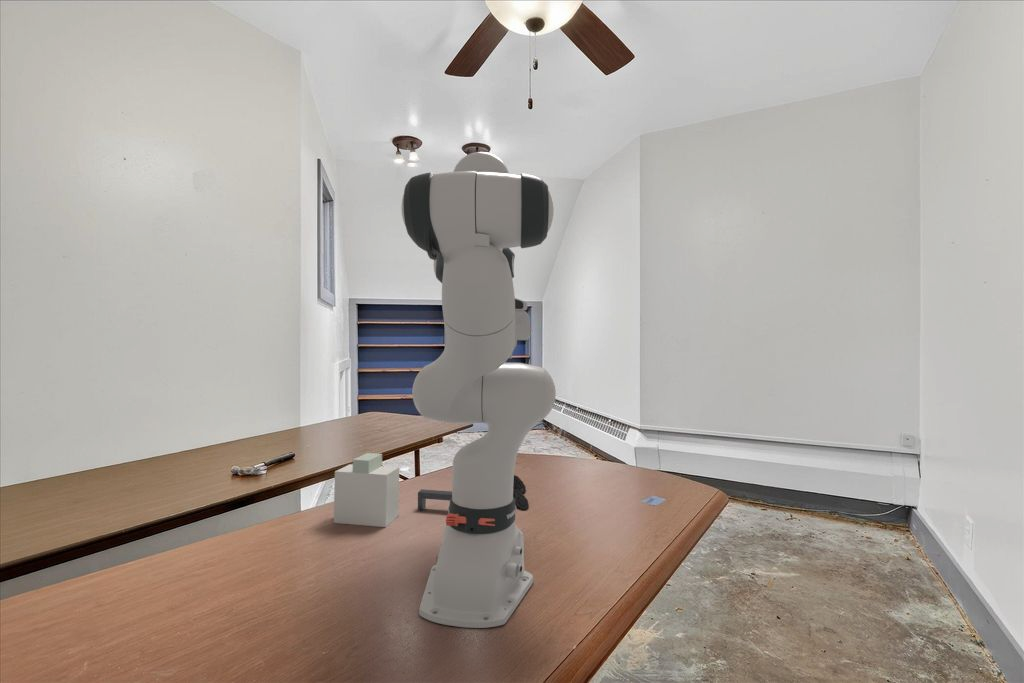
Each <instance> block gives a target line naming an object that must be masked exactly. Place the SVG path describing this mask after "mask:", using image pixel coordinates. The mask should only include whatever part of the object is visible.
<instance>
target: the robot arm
mask: <svg viewBox="0 0 1024 683" xmlns="http://www.w3.org/2000/svg"><path fill="white" fill-rule="evenodd" d="M400 208H401V218H402V221H403V224H404V227H405V229H406V232H407V235H408V236H409V238H410V239H411V240H412V241H413V243H415V245H416V246H417V247H418V248H420V249H421V250H423V251H425V252H426V253H427V255H428V257H429V259H430V260H433V272H434V275H435V278H436V280H438V281H439V282H440V283H441V305H442V306H441V307H442V316H443V324H444V325H443V326H444V340H445V344H444V345H445V346H444V350H443V351H442V353H440V356H439V357H438V358H436V359H435V360H434V361H433V362H431V363H428V364H426V365H424V366H423V367H422V368H421V369H420V370H419V372H418V373H417V375H416V376H415V378H414V381H413V384H412V391H411V392H412V394H411V395H412V401H413V403H414V406H415V408H416V410H417V412H418V413H419V414H420V415H421V417H423V418H426V419H430V420H433V421H439V422H444V423H453V424H454V423H455V424H457V423H458V424H459V423H460V424H461V423H466V424H468V423H469V424H471V423H472V424H485V425H487V426H488V430H487V432H486V433H485V434H484V435H483V436H482V437H479V438H478V439H475V440H474V441H471V442H468V443H467V444H466V445H464V446H463V447H461V448H459V449H458V451H457V452H456V453H455V455H454V457H453V459H452V477H451V478H452V480H451V481H452V482H451V483H452V485H451V491H452V498H451V499H450V501H449V505H448V510H447V514H446V517H445V524H446V525H444V526H443V530H444V531H443V536H442V540H441V544H440V549H439V552H438V554H437V556H436V564H434V565H432V567H431V569H430V572H429V575H428V577H427V578H428V579H427V582H426V585H425V587H424V592H423V595H422V597H421V601H420V604H419V608H418V615H419V616H420V617H422V619H423V618H424V619H425V620H427V621H429V622H433V623H436V624H440V625H445V626H452V627H458V628H459V627H460V628H469V629H470V628H471V629H472V628H473V629H474V628H475V629H485V628H495V627H499V626H503V625H505V624H506V623H507V622H508V621H509V620H510V618H511V616H512V614H513V613H514V611H515V610H516V609H517V607H518V606H519V604H520V603H521V601H522V599H523V598H524V597H525V595H526V594H527V593H528V592H529V590H530V588H531V587H532V585H533V583H534V575H533V574H532V573H530V572H529V571H527V570H525V555H524V552H525V550H524V546H525V545H524V533H523V532H522V531H521V529H520V528H519V527H518V526H517V525H516V523H515V520H516V513H517V506H516V504H515V496H514V495H513V482H514V475H515V474H514V473H515V470H516V469H515V468H516V467H515V466H516V460H517V456H518V453H519V452H518V451H519V450H520V447H521V445H522V444H523V441H524V439H525V438H526V436H527V435H528V434H529V432H530V431H532V429H533V428H534V427H536V425H538V424H539V423H540V422H542V421H543V420H544V419H546V417H548V415H550V413H551V412H552V409H553V407H554V405H555V401H556V386H555V382H554V380H553V378H552V376H551V374H550V373H549V371H547V370H546V369H545V368H544V367H541V366H537V365H533V364H528V363H525V362H524V363H523V362H507V361H508V359H513V352H514V350H515V348H516V347H517V346H518V345H517V344H518V341H529V339H530V338H531V335H532V330H531V319H530V315H529V314H528V312H527V311H526V310H528V303H527V301H526V300H525V301H524V300H522V299H519V298H517V297H515V287H514V281H513V279H514V278H515V271H514V270H515V268H514V267H515V266H514V265H515V257H516V255H515V253H514V252H513V250H511V249H512V248H517V247H520V248H521V249H527V248H532V247H536V246H539V245H541V244H543V242H544V241H545V240H546V239H547V237H548V233H549V231H550V229H551V227H552V223H553V220H554V209H555V208H554V202H553V197H552V195H551V193H550V191H549V186H548V184H547V183H546V182H545V181H544V180H543V179H542V178H541V177H538V176H536V175H531V174H527V173H521V174H518V175H517V174H511V173H510V172H509V170H508V168H507V165H505V163H504V161H503V160H502V159H501V158H499V157H498V156H496V155H495V154H493V153H491V152H486V151H475V152H472V153H468V154H467V155H465V156H463V157H462V158H461V159H460V160H459V161H458V163H456V165H455V167H454V169H453V171H451V172H450V171H449V172H448V171H447V172H441V173H434V172H425V173H421V174H418V175H415V176H412V177H411V178H410V179H409V180H408V181H407V183H406V185H405V186H404V191H403V196H402V199H401V205H400Z"/></svg>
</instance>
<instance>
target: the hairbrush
mask: <svg viewBox="0 0 1024 683" xmlns="http://www.w3.org/2000/svg"><path fill="white" fill-rule="evenodd" d="M515 474H516V475H515ZM526 491H527V490H526V486H525V483H524V482H523V481H522V480H521V478H520V477H519V476H518V475H517V473H515V472H514V482H513V497H514V499H515V506H516V509H518V510H519V511H521V512H522V511H524V512H525V511H528V509H529V508H530V507H529V506H530V505H529V501H528V498H526V496H525V495H524V494H526Z"/></svg>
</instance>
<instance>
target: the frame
mask: <svg viewBox="0 0 1024 683" xmlns="http://www.w3.org/2000/svg"><path fill="white" fill-rule="evenodd" d="M451 498H452V490H451V491H450V490H435V489H420V490H419V491H418V492H417V511H424V509H425V508H426V506H427V505H426V504H427V502H426V500H435V501H436V500H437V501H438V500H440V501H449V502H450V499H451Z"/></svg>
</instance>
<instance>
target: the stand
mask: <svg viewBox="0 0 1024 683" xmlns="http://www.w3.org/2000/svg"><path fill="white" fill-rule="evenodd" d="M333 490H334V491H333V492H334V496H333V505H334V506H333V524H341V525H342V524H344V525H355V526H365V527H366V526H367V527H368V526H369V527H377V528H378V527H380V528H387V527H389V525H390V524H392V523H393V522H394V521H395V520H396V519H397V518H398V517H399V510H400V509H399V507H400V506H399V502H400V500H399V498H400V467H399V466H387V465H386V466H385V465H384V466H383V453H373V452H367V453H364V454H362V455H360V456H358V457H356V458H353V459H352V463H349V464H347V465H346V466H343V467H342V468H338V469H337V470H335V471H334V489H333Z"/></svg>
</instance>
